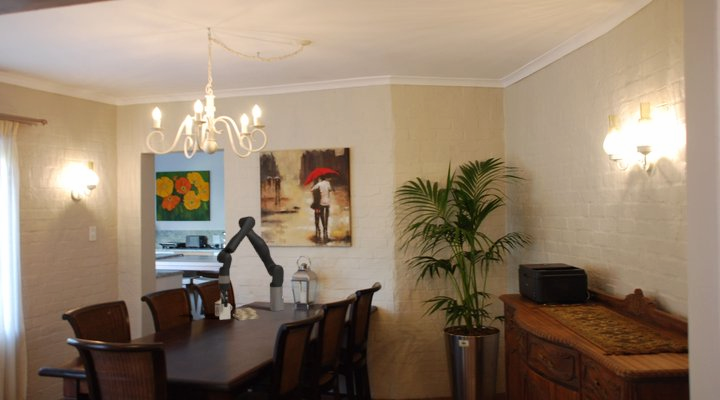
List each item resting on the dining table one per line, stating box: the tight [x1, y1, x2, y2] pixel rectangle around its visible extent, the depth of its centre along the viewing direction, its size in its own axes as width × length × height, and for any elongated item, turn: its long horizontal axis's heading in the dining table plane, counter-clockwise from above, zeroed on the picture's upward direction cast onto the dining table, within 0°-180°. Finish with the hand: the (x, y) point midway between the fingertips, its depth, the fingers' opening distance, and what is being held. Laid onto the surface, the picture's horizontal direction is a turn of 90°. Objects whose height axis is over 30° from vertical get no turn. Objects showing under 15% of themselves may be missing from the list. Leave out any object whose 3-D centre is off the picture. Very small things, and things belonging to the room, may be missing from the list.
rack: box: [232, 307, 260, 321], centre depth 385 cm, size 14×17×5 cm
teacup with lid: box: [214, 298, 233, 317], centre depth 394 cm, size 12×9×12 cm
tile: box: [218, 302, 231, 321], centre depth 381 cm, size 7×2×10 cm, turn 117°
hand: (224, 306), depth 381 cm, fingers open, 8 cm apart
